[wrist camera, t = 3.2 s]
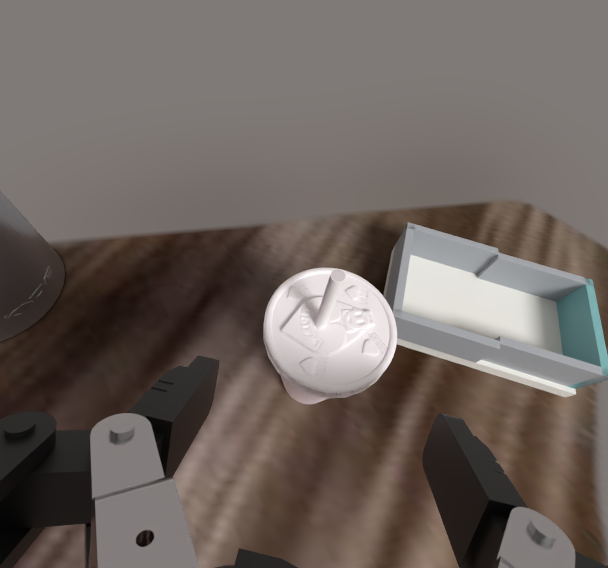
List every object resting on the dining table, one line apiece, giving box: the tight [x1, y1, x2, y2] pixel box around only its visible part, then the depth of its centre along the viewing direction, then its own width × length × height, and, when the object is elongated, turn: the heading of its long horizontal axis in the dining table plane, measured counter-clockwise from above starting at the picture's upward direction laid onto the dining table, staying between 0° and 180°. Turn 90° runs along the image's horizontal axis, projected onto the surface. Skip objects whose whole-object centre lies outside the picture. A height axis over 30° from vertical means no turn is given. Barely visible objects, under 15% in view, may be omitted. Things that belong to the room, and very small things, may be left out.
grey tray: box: [383, 222, 608, 397], centre depth 26 cm, size 15×9×4 cm, turn 74°
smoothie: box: [263, 268, 397, 404], centre depth 18 cm, size 6×6×14 cm
